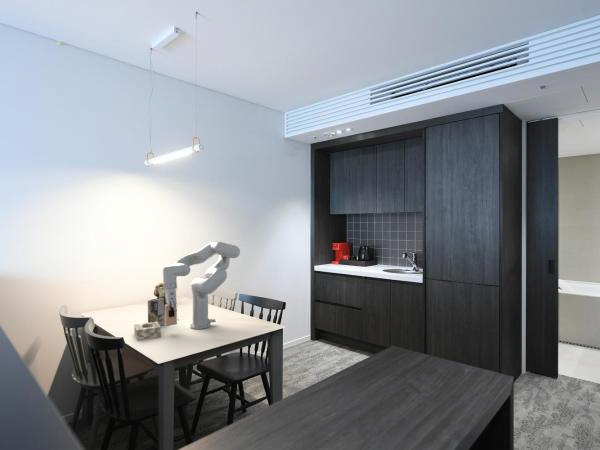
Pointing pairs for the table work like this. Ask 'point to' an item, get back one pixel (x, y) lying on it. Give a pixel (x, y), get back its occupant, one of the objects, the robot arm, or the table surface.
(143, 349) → the table surface
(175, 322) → the terracotta peg
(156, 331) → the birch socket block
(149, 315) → the coffee box
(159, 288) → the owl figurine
